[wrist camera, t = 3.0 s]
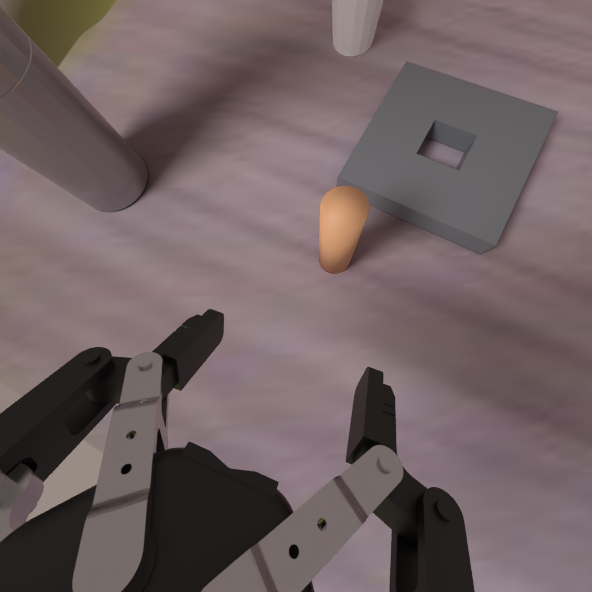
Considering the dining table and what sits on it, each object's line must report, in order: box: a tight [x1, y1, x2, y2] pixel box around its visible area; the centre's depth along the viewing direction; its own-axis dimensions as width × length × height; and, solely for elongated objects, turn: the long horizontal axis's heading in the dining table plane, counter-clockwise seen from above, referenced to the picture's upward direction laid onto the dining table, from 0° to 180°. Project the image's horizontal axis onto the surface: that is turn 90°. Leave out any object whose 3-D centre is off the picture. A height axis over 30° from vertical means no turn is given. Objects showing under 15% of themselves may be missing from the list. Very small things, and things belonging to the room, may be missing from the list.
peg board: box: [337, 61, 558, 255], centre depth 30 cm, size 18×18×2 cm
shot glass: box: [332, 0, 383, 57], centre depth 32 cm, size 7×7×7 cm
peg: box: [319, 186, 369, 274], centre depth 24 cm, size 4×4×11 cm
